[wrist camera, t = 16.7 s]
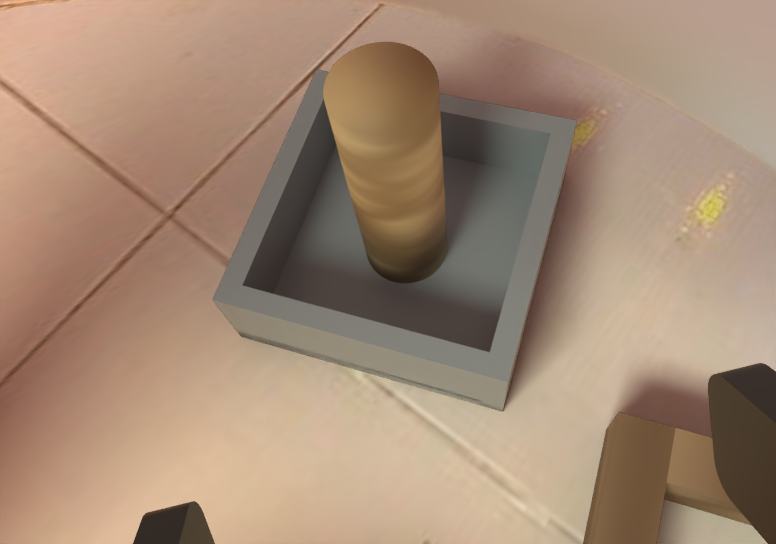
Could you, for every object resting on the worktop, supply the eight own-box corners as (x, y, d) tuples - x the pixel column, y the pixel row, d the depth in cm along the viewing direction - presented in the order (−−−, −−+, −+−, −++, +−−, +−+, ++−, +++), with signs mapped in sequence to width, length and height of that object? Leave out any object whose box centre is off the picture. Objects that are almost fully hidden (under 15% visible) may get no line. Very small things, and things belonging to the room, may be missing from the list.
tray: (241, 336, 36) (212, 300, 32) (331, 124, 41) (316, 69, 37) (502, 411, 33) (507, 382, 29) (565, 173, 38) (577, 120, 34)
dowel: (355, 272, 36) (306, 121, 25) (380, 203, 37) (345, 33, 26) (434, 292, 35) (418, 145, 24) (457, 221, 36) (452, 52, 26)
